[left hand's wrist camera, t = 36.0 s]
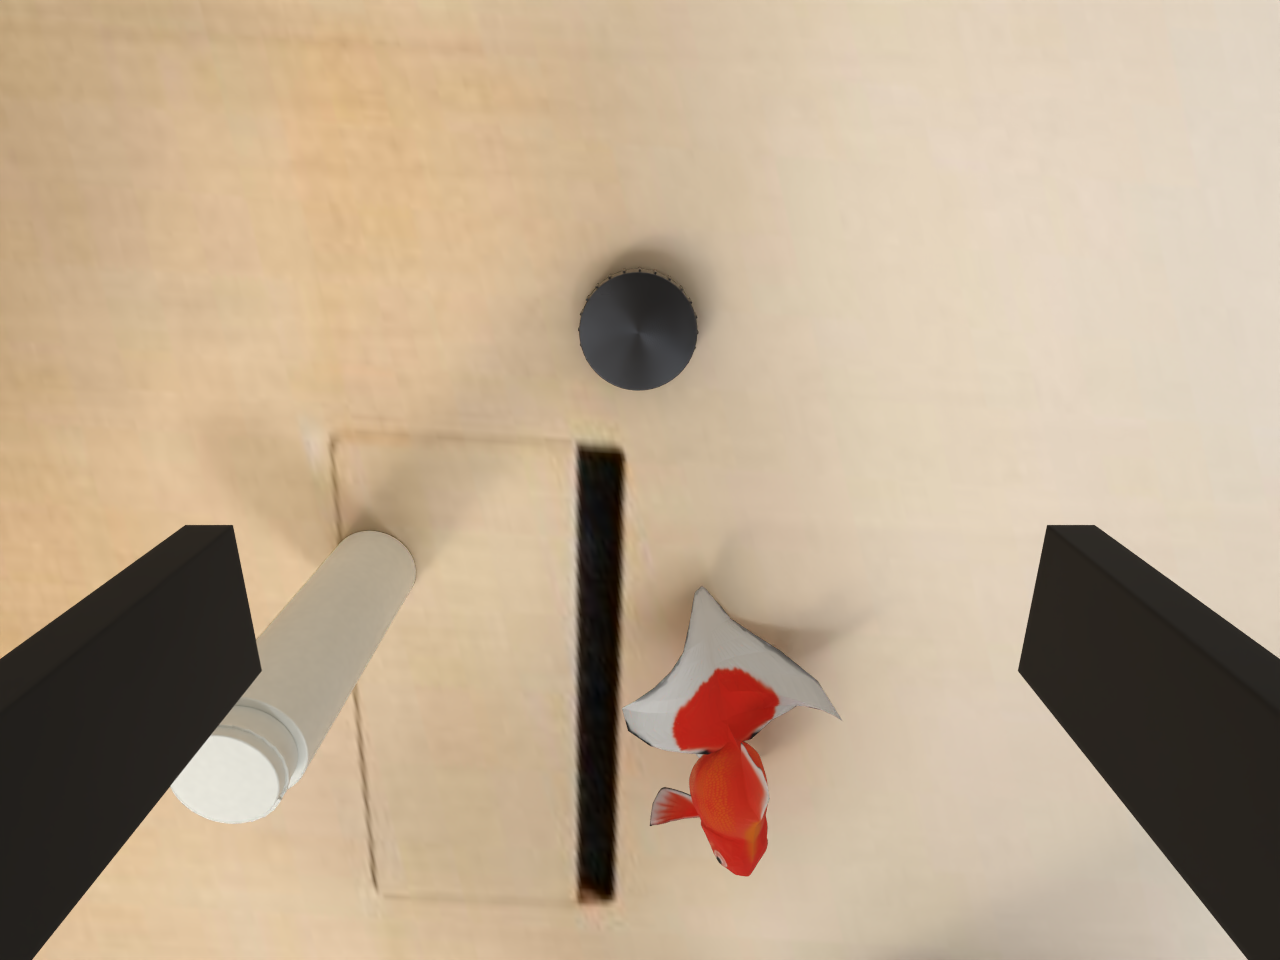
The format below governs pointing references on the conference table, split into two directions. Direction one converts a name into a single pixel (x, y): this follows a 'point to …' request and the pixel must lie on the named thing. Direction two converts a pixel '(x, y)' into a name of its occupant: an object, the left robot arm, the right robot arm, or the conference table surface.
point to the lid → (638, 329)
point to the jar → (299, 680)
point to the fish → (722, 728)
